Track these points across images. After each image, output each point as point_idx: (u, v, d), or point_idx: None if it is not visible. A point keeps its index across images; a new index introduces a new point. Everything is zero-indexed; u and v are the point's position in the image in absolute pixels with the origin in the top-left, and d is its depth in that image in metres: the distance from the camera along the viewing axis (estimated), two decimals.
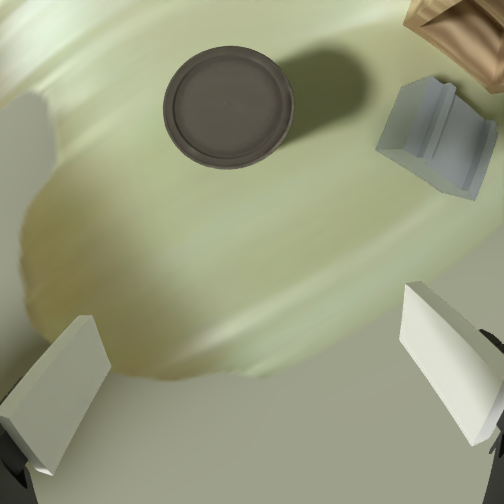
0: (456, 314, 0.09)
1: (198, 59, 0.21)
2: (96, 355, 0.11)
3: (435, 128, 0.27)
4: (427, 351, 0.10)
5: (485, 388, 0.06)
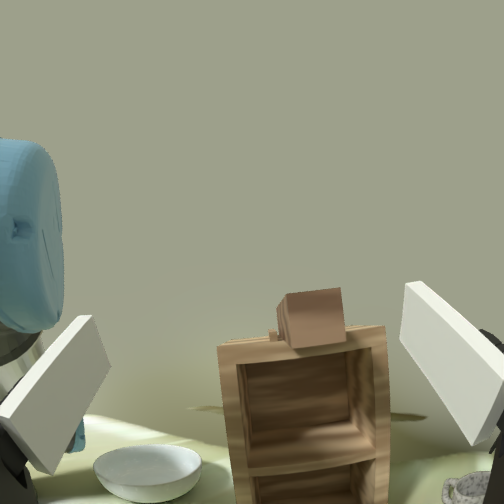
0: (456, 314, 0.09)
1: None
2: (96, 355, 0.11)
3: None
4: (427, 351, 0.10)
5: (485, 388, 0.06)
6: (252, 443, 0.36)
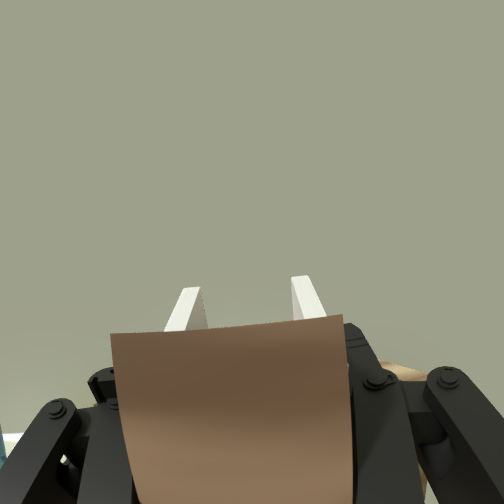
0: (318, 306, 0.11)
1: None
2: (204, 325, 0.13)
3: None
4: None
5: None
6: None
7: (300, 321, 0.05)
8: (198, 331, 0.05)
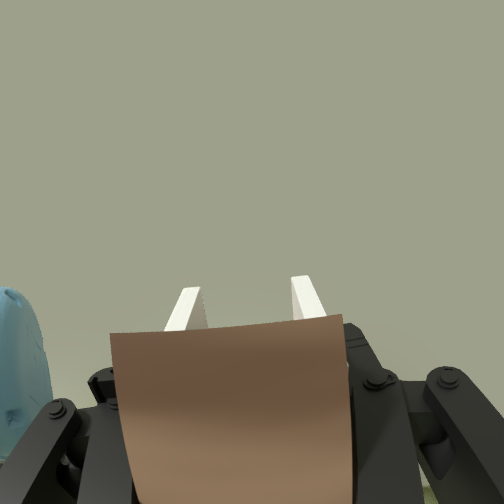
0: (318, 306, 0.11)
1: None
2: (204, 325, 0.13)
3: None
4: None
5: None
6: None
7: (300, 321, 0.05)
8: (198, 331, 0.05)
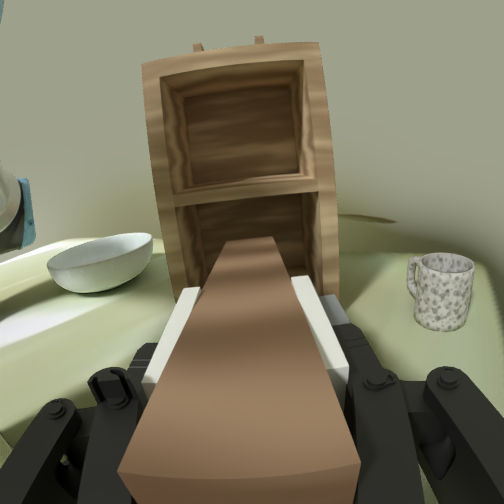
0: (318, 306, 0.11)
1: None
2: None
3: None
4: None
5: None
6: (189, 187, 0.38)
7: (317, 470, 0.04)
8: (210, 480, 0.04)
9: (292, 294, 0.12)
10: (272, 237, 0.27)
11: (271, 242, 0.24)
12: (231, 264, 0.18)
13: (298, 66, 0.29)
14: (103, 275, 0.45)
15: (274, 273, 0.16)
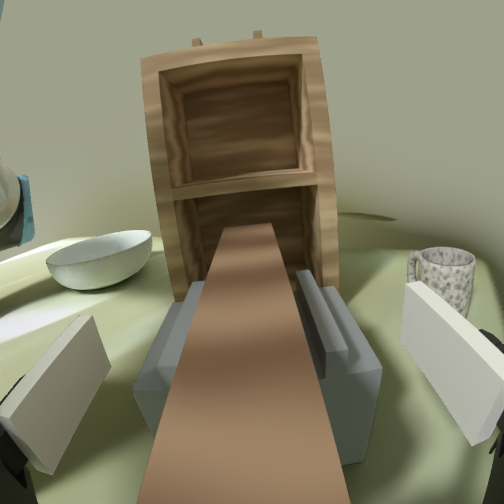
0: (456, 314, 0.09)
1: None
2: (96, 355, 0.11)
3: (175, 324, 0.17)
4: (427, 351, 0.10)
5: (485, 388, 0.06)
6: (188, 182, 0.38)
7: None
8: None
9: (292, 306, 0.12)
10: (271, 224, 0.26)
11: (270, 231, 0.24)
12: (229, 261, 0.18)
13: (297, 61, 0.29)
14: (102, 272, 0.44)
15: (274, 275, 0.15)
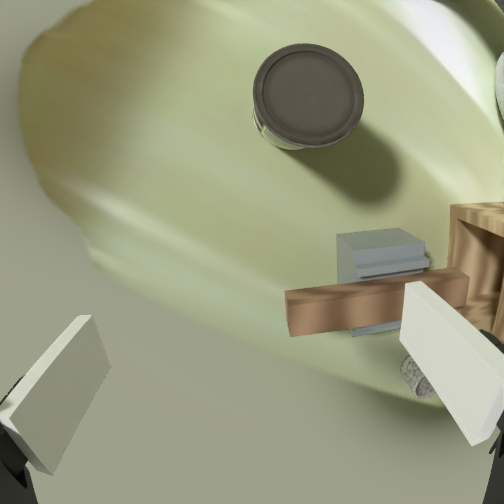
0: (456, 314, 0.09)
1: (333, 56, 0.24)
2: (96, 355, 0.11)
3: (387, 266, 0.35)
4: (427, 351, 0.10)
5: (485, 388, 0.06)
6: None
7: (290, 331, 0.34)
8: (289, 318, 0.34)
9: (362, 325, 0.34)
10: (461, 305, 0.34)
11: None
12: None
13: None
14: None
15: (389, 317, 0.34)
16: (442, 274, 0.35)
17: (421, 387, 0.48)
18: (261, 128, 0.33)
